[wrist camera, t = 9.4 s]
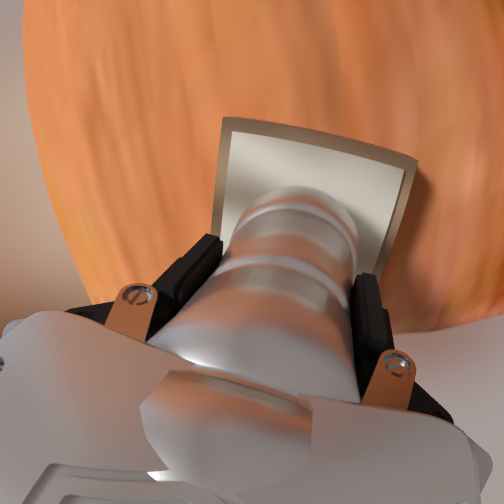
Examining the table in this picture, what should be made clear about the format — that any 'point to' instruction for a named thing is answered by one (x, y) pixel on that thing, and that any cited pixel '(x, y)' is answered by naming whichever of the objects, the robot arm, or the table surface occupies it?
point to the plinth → (313, 179)
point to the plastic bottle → (259, 347)
